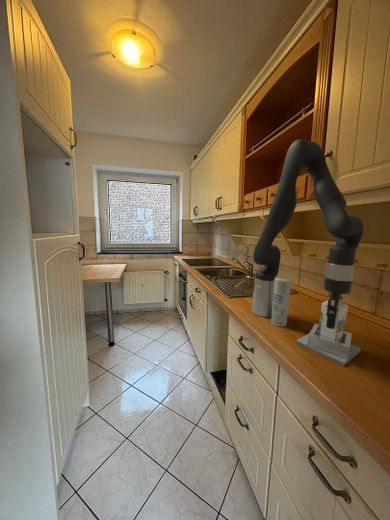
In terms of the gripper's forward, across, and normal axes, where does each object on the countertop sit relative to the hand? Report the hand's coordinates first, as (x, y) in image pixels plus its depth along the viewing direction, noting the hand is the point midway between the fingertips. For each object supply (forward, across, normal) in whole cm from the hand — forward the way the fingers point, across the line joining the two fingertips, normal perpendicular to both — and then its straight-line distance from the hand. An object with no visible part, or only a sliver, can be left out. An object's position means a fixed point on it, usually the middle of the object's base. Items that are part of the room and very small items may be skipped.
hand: (331, 324), depth 72 cm
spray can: (+9, -8, -20) cm, 23 cm away
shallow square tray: (+8, 0, 0) cm, 8 cm away
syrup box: (+7, 0, 0) cm, 7 cm away
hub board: (+9, 0, 0) cm, 9 cm away
